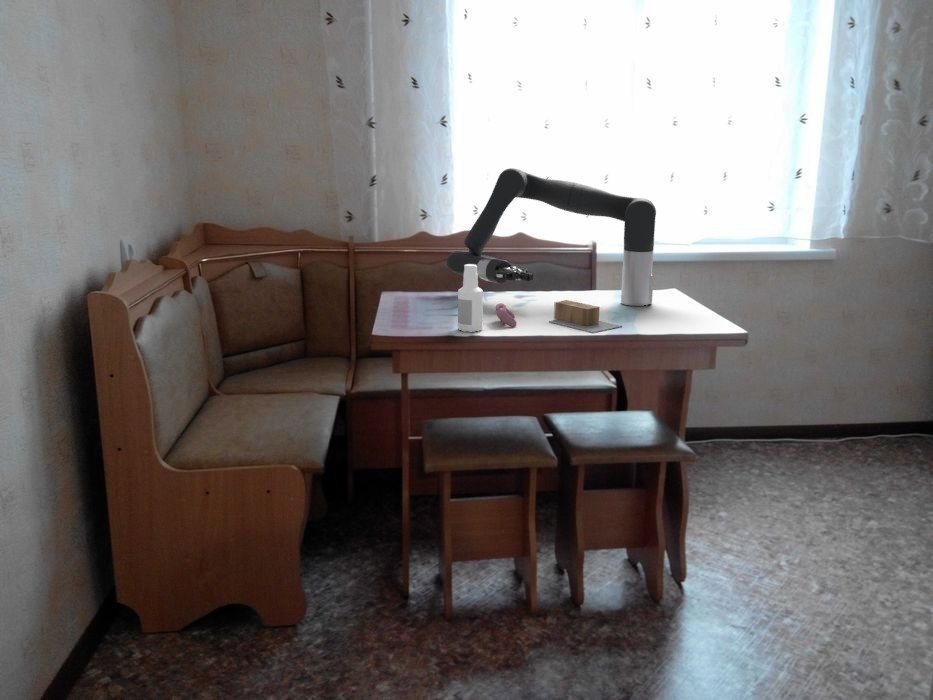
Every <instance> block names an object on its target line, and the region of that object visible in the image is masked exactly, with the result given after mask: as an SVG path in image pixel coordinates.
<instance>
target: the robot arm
mask: <svg viewBox="0 0 933 700" xmlns="http://www.w3.org/2000/svg"><path fill="white" fill-rule="evenodd" d="M515 198H519V199H520V198H521V199H528V200H534V201H538V202H542V203H544V204H546V205H550V206H552V207H554V208H557V209H559V210H563V211H565V212H569V213H573V214H578V215H584V216H593V217H605V218H611V219H616V220H619V221H620V222H624V227H623V228H624V229H623V231H624V232H623V253H622V254H623V256H622V258H623V259H622V274H621V275H622V277H621V294H620V303H621V304H622V305H626V306H631V307H632V306H634V307H643V306H644V305H646V306H649V305H648V304H652V305H653V296H654V295H653V293H654V292H653V291H654V274H653V261H654V246H655V244H654V243H655V231H656V230H655V228H656V217H657V209H656V206H655V205H654V203H653V202H652V201H650V200H649V199H646V198H643V197H642V198H640V197H632V196H624V195H618V194H614V193H611V192H608V191H605V190H602V189H601V188H600V189H599V188H596V187H592V186H589V185H587V184H582V183H577V182H574V181H568V180H560V179H551V178H544V177H540V176H537V175H535V174H534V175H533V174H531V173H528V172H526V171H523V170H521V169H518V168H512V167H511V168H507V169H505V170H503V171H502V172H501V173H500V174H499V175H498V178H497V181H496V182H495V186H494V188H493V190H492V192H491V194H490V196H489V198H488V201H487V203H486V205H485V206H484V208H483V209H482V211H481V213H480V215H478V217H477V219H476V221H475V222H474V224H473V225H472V227H470V230H469V232H468V233H467V234H466V236H465V238H464V240H463V243H464V245H465V247H466V248H467V249H468V253H467V252H464V251H458V250H456V251H453V252H451V253H449V255H448V256H447V257H446V260H445V262H446V267H447V268H448V270H449V271H450V272H452V273H455V274H458V275H459V276H462V277H464V265H466V264H475V265H477V273H478V279H480V280H483V281H486V282H491V283H495V284H506V283H507V282H508V281H513V282H514V281H526V282H532V281H534V273H531V272H529V269H528V268H527V267H523V268H519V267H516V266H514V265H511V263H510V262H509V261H508V260H505V259H500V258H495V257H485V256H482V255H483V254H482V253H483V251H484V249H485V247H486V246H487V244H488V243H489V241H490V240H491V237H493V235H494V233H495V230H496V228H497V226H498V224H499V223H500V220H501V218H502V216H503V214H504V213H505V211H506V210H507V208H508V207H509V205H510V204H511V203H512V202H513V201H514V199H515Z"/></svg>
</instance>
